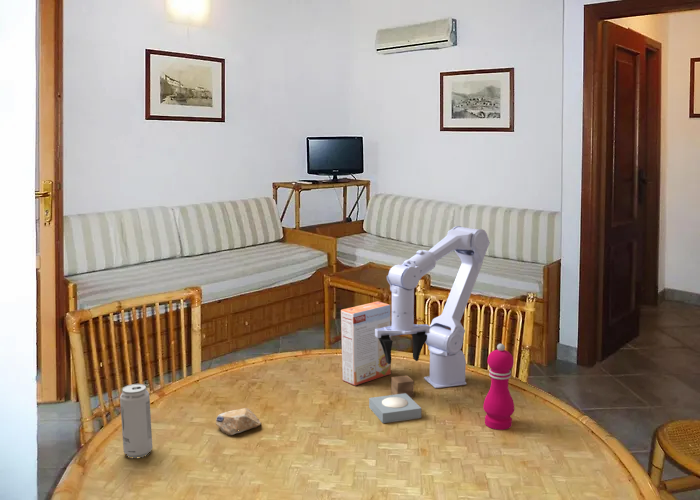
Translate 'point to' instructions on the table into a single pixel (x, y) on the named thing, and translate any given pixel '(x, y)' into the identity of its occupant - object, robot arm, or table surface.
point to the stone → (237, 421)
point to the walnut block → (402, 385)
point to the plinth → (394, 408)
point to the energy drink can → (136, 420)
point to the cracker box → (363, 342)
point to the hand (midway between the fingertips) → (402, 361)
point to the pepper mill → (499, 390)
